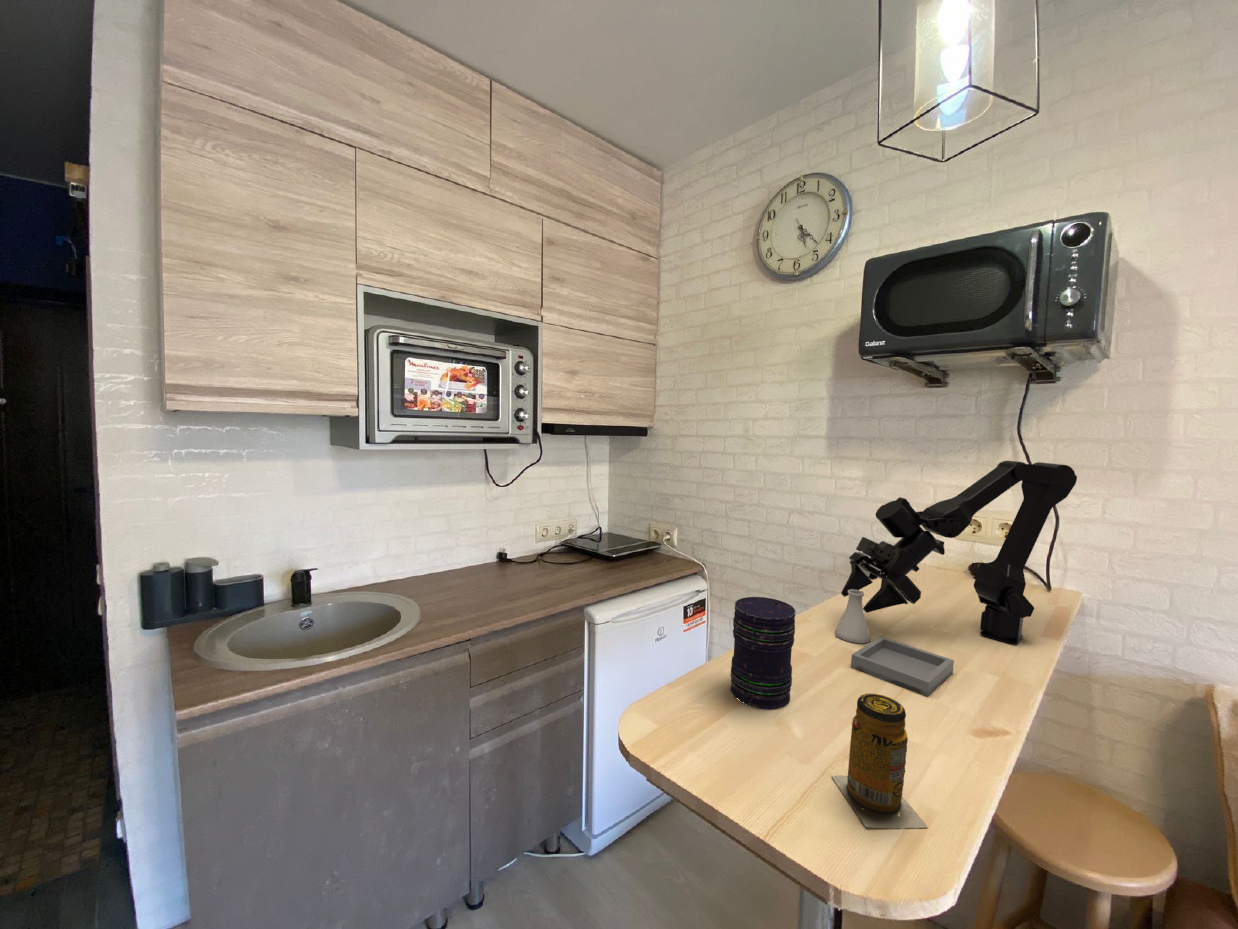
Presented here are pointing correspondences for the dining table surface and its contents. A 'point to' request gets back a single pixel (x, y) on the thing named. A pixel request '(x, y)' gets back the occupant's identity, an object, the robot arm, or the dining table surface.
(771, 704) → the storage jar
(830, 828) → the dining table surface
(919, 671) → the tray
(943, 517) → the robot arm
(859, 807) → the condiment
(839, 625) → the flask
